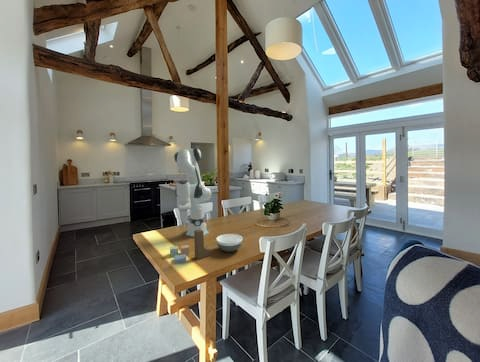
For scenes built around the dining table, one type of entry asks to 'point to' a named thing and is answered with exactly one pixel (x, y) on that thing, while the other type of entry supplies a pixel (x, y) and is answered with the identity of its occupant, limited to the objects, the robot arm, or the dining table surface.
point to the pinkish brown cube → (185, 249)
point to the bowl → (229, 242)
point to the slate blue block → (180, 258)
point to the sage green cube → (173, 251)
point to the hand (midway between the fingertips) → (184, 225)
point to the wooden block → (200, 245)
